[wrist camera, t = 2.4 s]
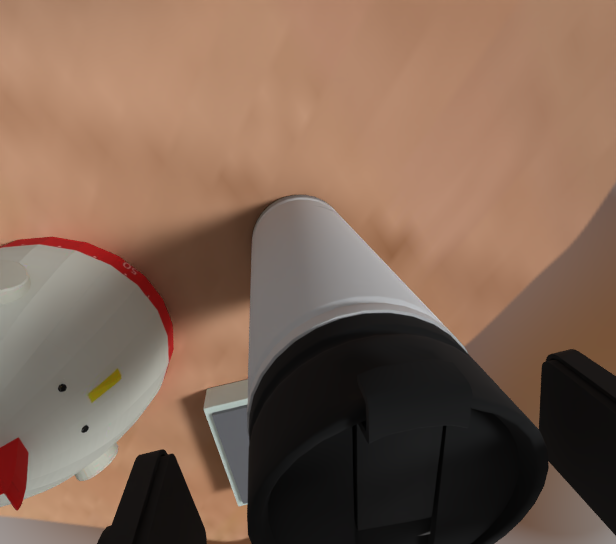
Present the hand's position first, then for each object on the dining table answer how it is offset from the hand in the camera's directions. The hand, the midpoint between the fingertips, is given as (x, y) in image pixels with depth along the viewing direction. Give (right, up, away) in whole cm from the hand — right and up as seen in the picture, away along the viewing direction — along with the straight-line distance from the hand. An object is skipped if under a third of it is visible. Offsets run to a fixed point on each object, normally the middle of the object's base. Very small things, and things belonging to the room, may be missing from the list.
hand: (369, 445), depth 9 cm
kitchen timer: (-18, 0, +17) cm, 24 cm away
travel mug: (-2, +7, +16) cm, 18 cm away
